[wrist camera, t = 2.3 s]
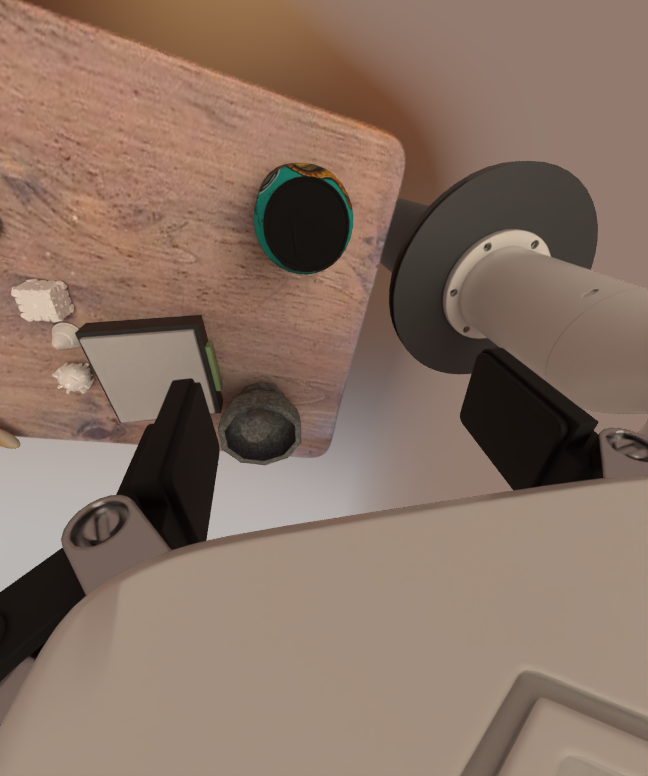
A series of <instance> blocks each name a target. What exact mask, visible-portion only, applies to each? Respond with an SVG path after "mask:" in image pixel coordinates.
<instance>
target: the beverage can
mask: <svg viewBox="0 0 648 776" xmlns="http://www.w3.org/2000/svg"><path fill="white" fill-rule="evenodd" d="M254 226H255V232H256V236H257V239H258V242H259V244H260V246H261V247H262V249H263V251H264V253H265V254H266V255H267V256H268V257H269V259H270V260H271V261H272V262H274V263H275V264H276V265H277V266H279V267H280V268H282V269H284V270H286V271H288V272H292V273H296V274H313V273H317V272H320V271H322V270H325V269H327V268H328V267H330V266H331V265H333V264H334V263H335V262H336V261H337V260H338V259H339V258H340V257H341V255H342V254H343V252H344V251H345V249H346V247H347V245H348V243H349V240H350V238H351V233H352V229H353V212H352V205H351V202H350V199H349V196H348V193H347V192H346V190H345V188H344V187H343V185H342V183H341V182H340V181H339V180H338V179H337V178H336V177H335V176H334V175H333V174H332V173H330V172H329V171H327V170H326V169H324V168H322V167H319V166H317V165H314V164H307V163H291V164H284V165H282V166H279V167H277V168H276V169H274V170H273V171H272V172H270V173H269V174H268V176H267V177H266V178H265V179H264V181H263V183H262V185H261V187H260V190H259V193H258V197H257V200H256V204H255V208H254Z"/></svg>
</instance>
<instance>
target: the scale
mask: <svg viewBox="0 0 648 776" xmlns="http://www.w3.org/2000/svg"><path fill="white" fill-rule="evenodd" d="M75 335H76V337H77V339H78V341H79V343H80V345H81V347H82V349H83V351H84V353H85V355H86V357H87V359H88V361H89V363H90V365H91V367H92V369H93V371H94V372H95V374H96V376H97V378H98V380H99V382H100V384H101V386H102V388H103V390H104V392H105V394H106V396H107V398H108V400H109V402H110V404H111V406H112V408H113V410H114V412H115V414H116V416H117V418H118V420H119V422H120V423H127V422H137V421H147V420H156V419H157V416H158V414H159V411H160V409H161V407H162V404H163V402H164V399H165V397H166V394H167V392H168V390H169V387H170V385H171V382H172V381H173V380H179V379H189V378H192V379H193V380H194V381H195V382H200V383H201V385H202V388H203V392H204V395H205V399H206V402H207V405H208V409H209V412H210V414H214V413H221V410H222V404H223V399H222V395H221V388H222V381H221V377H220V373H219V369H218V365H217V361H216V357H215V353H214V348H213V344H212V342H208V339H207V335H206V331H205V327H204V323H203V319H202V315H195V316H181V317H167V318H153V319H139V320H125V321H111V322H97V323H86V324H84V325H83V326H82V327H81V328H80V329H79V330H78V331H77V332H75Z"/></svg>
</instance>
